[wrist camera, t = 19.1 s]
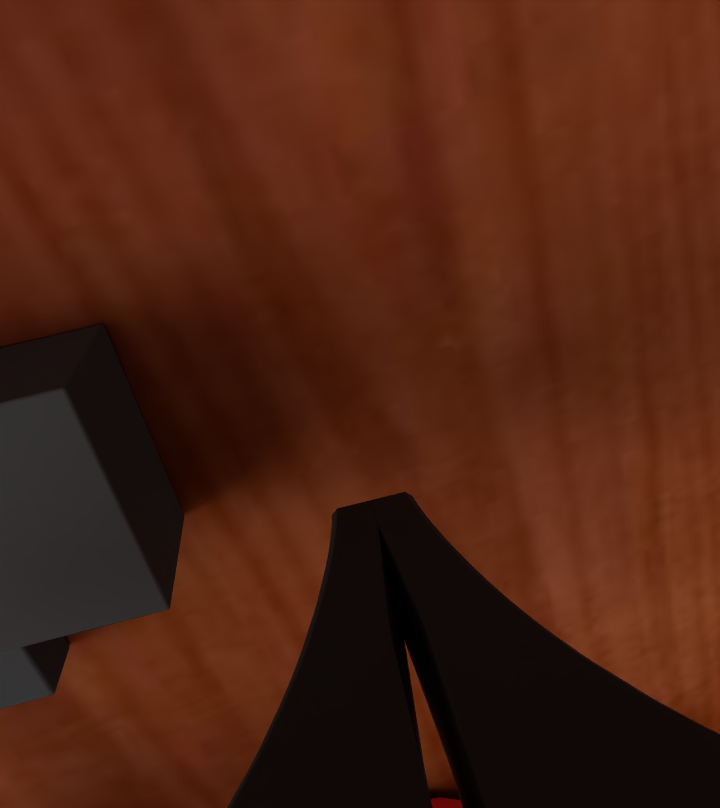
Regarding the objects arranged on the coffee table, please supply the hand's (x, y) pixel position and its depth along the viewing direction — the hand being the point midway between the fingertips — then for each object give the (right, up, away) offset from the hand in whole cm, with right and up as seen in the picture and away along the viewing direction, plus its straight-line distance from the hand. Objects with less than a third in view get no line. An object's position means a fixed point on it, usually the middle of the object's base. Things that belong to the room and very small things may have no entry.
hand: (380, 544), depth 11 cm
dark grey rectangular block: (-7, +1, +3) cm, 8 cm away
